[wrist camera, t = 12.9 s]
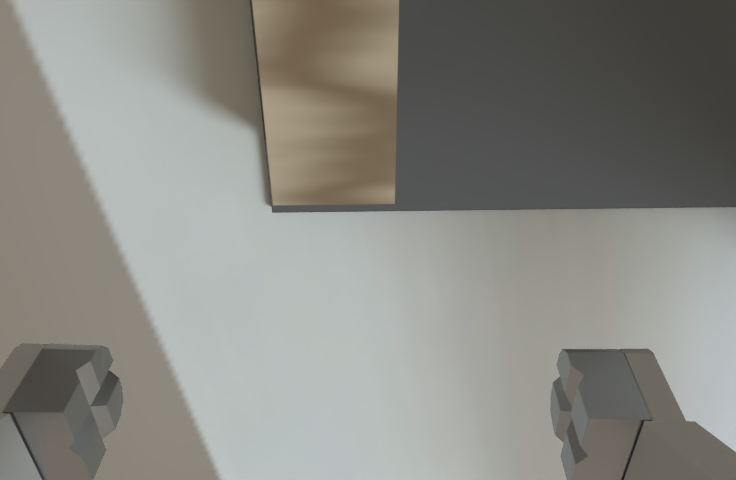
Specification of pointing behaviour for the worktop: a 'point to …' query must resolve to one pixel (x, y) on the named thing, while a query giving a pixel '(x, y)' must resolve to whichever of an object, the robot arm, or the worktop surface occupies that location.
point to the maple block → (329, 99)
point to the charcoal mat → (561, 105)
